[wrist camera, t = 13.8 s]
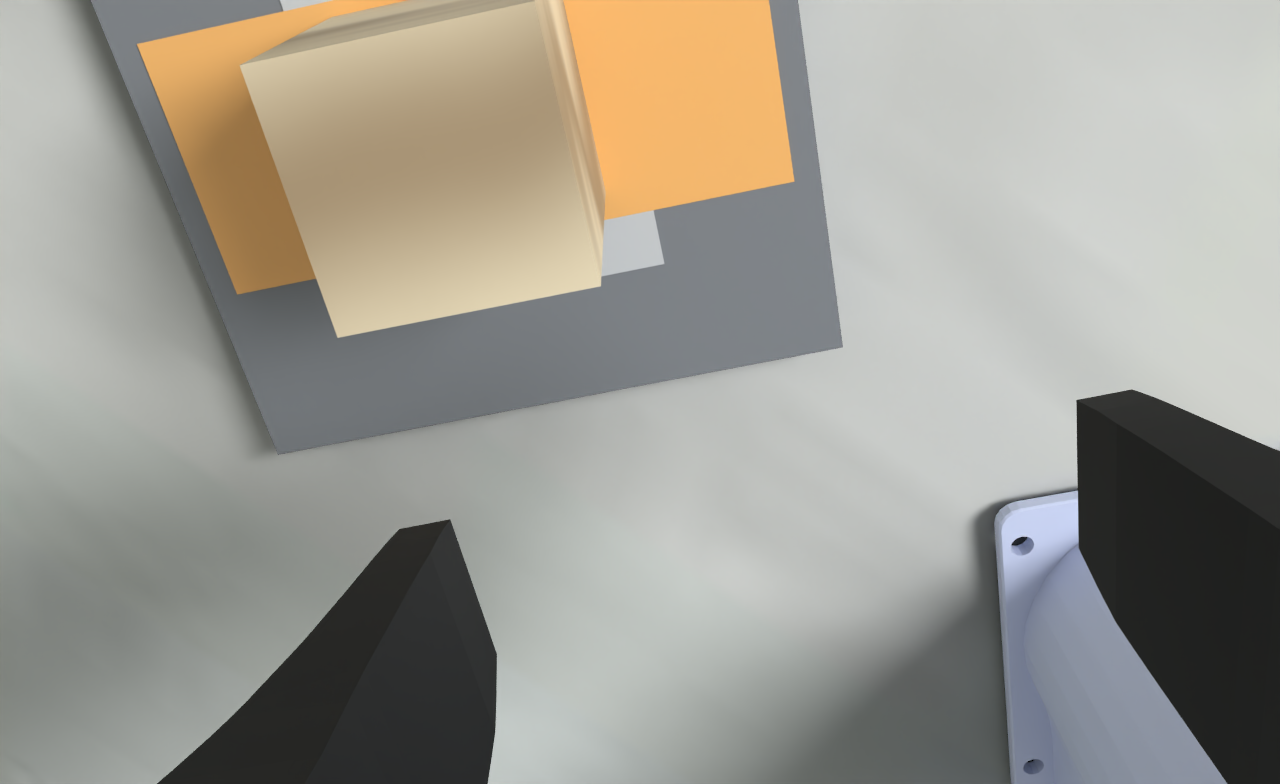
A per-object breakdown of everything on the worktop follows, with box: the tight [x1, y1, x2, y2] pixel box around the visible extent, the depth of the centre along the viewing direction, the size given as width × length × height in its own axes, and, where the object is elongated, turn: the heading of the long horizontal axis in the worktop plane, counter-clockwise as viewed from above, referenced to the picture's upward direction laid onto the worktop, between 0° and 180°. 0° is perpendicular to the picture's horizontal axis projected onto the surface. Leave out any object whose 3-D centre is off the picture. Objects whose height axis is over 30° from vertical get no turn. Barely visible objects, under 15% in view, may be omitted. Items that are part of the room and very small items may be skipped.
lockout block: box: [240, 0, 606, 338], centre depth 17 cm, size 4×4×5 cm
